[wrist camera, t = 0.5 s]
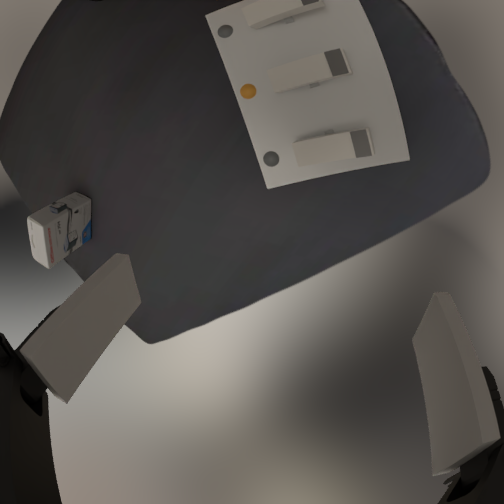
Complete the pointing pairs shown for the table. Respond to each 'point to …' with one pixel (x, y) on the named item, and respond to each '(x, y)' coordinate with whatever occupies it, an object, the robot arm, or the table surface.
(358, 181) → the table surface
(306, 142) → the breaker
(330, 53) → the block
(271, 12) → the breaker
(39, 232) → the ink box
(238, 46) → the panel
